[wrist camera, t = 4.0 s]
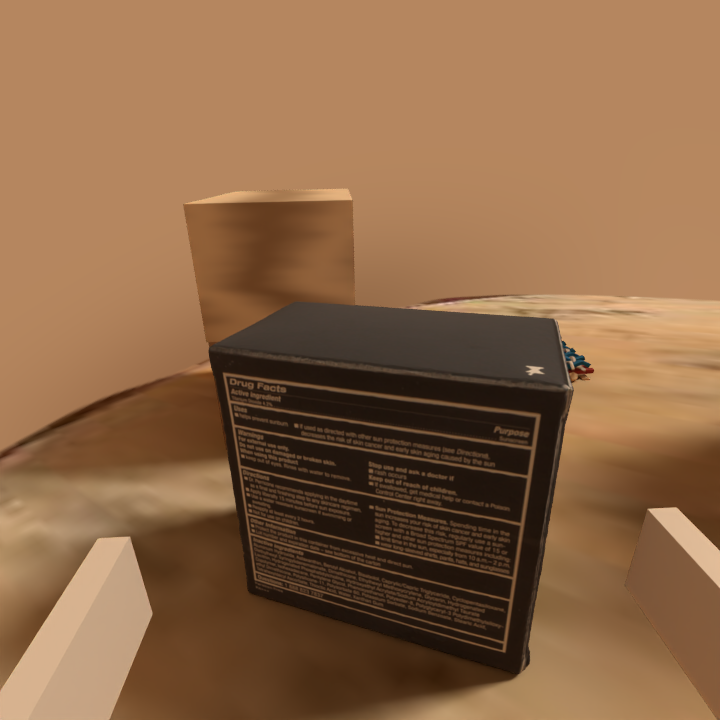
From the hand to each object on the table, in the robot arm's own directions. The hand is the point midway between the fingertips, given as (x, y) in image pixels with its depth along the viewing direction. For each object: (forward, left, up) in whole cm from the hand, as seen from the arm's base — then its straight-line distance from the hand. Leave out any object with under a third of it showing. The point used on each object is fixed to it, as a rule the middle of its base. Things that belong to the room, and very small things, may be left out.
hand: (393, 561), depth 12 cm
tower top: (+4, -20, +1) cm, 21 cm away
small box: (-1, -5, -6) cm, 8 cm away
